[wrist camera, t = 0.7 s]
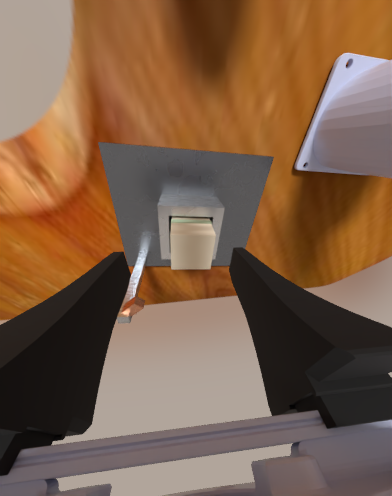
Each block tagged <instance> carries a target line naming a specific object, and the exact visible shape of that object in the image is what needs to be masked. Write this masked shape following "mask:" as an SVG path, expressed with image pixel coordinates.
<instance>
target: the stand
mask: <svg viewBox="0 0 392 496" xmlns="http://www.w3.org/2000/svg"><path fill="white" fill-rule="evenodd" d="M98 144H99V148H100V152H101V156H102V160H103V164H104V168H105V172H106V176H107V181H108V185H109V189H110V193H111V197H112V201H113V205H114V209H115V213H116V218H117V222H118V226H119V230H120V234H121V238H122V242H123V246H124V250H125V255H126V259H127V263H128V266H135V267H134V270H133V273H132V275H131V278H130V282H129V286H128V290H127V292H126V295H125V298H124V300H123V303H122V306H121V308H120V311H119V314H118V316H117V320H118V323H130V322H131V318H132V316H133V315H134V314H136V313H137V312H139V311H140V310H142V309H143V307H144V303H145V300H143V299H141V298H139V297H137V296H138V293H139V289H140V285H141V282H142V278H143V275H144V271H145V267H146V266H171V243H170V233H171V219H172V216H194V217H209V219H210V220H211V222H212V227H213V229H214V232H215V234H216V239H215V245H214V251H213V256H212V262H211V266H230V262H231V257H232V252H233V248H235V247H243V248H244V249H245V247H246V244H247V241H248V237H249V234H250V231H251V228H252V225H253V222H254V218H255V215H256V212H257V209H258V206H259V202H260V199H261V196H262V193H263V190H264V187H265V183H266V180H267V177H268V174H269V171H270V167H271V164H272V161H273V158H274V157H271V156H260V155H248V154H236V153H224V152H212V151H200V150H189V149H177V148H165V147H153V146H141V145H129V144H117V143H105V142H98Z"/></svg>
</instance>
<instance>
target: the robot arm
mask: <svg viewBox="0 0 392 496" xmlns="http://www.w3.org/2000/svg"><path fill="white" fill-rule="evenodd" d="M347 61H348V63H349V64H348V67H347V68H346V63H347ZM305 163H306V165H305V166H304V167H303V165H304V164H305ZM294 167H295V169H296V170H303V171H316V172H330V173H343V174H357V175H374V176H380V177H386V178H392V60H384V59H379V58H373V57H368V56H362V55H357V54H351V53H344V54H343V55H341V56H339V57H338V58H337V60H336V61H335V63H334V66H333V68H332V71H331V73H330V76H329V79H328V81H327V84H326V86H325V89H324V91H323V94H322V96H321V99H320V101H319V104H318V107H317V109H316V112H315V114H314V117H313V119H312V122H311V124H310V127H309V130H308V132H307V135H306V137H305V140H304V142H303V145H302V147H301V150H300V153H299V155H298V158H297V160H296V163H295V166H294ZM229 272H230V276H231V280H232V283H233V286H234V288H235V291H236V293H237V296H238V298H239V300H240V302H241V305H242V308H243V310H244V312H245V315H246V318H247V322H248V325H249V328H250V332H251V335H252V338H253V342H254V346H255V350H256V353H257V357H258V361H259V365H260V369H261V373H262V378H263V382H264V387H265V391H266V396H267V400H268V405H269V408H270V411H271V414H272V416H270V417H263V418H255V419H248V420H240V421H232V422H226V423H217V424H209V425H202V426H194V427H187V428H179V429H172V430H164V431H157V432H149V433H142V434H134V435H127V436H120V437H111V438H104V439H96V440H89V441H81V442H74V443H66V444H59V445H51V444H52V442H53V441H58V440H63V439H64V438H65V436H72V435H79V434H83V433H84V432H85V431H86V430H87V429H88V428H89V427H90V426H91V424H92V421H93V415H94V409H95V404H96V399H97V393H98V388H99V384H100V379H101V375H102V370H103V366H104V361H105V357H106V353H107V349H108V345H109V341H110V338H111V334H112V330H113V327H114V324H115V321H116V319H117V316H118V314H119V311H120V308H121V306H122V303H123V300H124V298H125V295H126V292H127V290H128V286H129V282H130V277H131V274H130V271H129V268H128V264H127V261H126V258H125V255H124V252H113V253H112V254H110V255H109V256H107V257H106V258H105V259H103V260H102V261H101V262H100V263H98V264H97V265H96V266H94V267H93V268H92V269H90V270H89V271H88V272H87V273H85V274H84V275H82V276H81V277H80V278H78V279H77V280H75V281H74V282H73V283H71V284H70V285H68V286H67V287H65V288H64V289H62V290H61V291H59V292H58V293H56V294H55V295H53V296H51V297H50V298H48V299H47V300H45V301H43V302H42V303H40V304H38V305H36V306H35V307H33V308H31V309H29V310H27V311H26V312H24V313H22V314H20V315H18V316H16V317H15V318H13V319H11V320H9V321H7V322H6V323H3V324H1V325H0V496H110V492H111V484H103V485H95V486H88V487H83V488H77V489H72V490H67V491H62V492H61V491H59V488H58V486H59V485H58V481H57V479H55V478H61V477H68V476H74V475H82V474H88V473H95V472H102V471H108V470H114V469H122V468H129V467H135V466H142V465H148V464H155V463H162V462H168V461H176V460H182V459H189V458H196V457H202V456H209V455H216V454H222V453H229V452H236V451H243V450H249V449H256V448H263V447H269V446H276V445H283V444H289V443H293V444H292V446H291V455H290V456H285V457H277V458H269V459H264V460H258V461H253V462H252V464H251V466H252V471H253V475H254V480H255V482H252V483H244V484H236V485H229V486H221V487H213V488H207V489H199V490H192V491H186V492H180V493H175V494H169V495H164V496H392V378H391V377H390V375H389V374H388V373H390V372H392V328H391V327H389V326H386V325H384V324H381V323H379V322H376V321H373V320H371V319H368V318H366V317H363V316H360V315H358V314H355V313H353V312H351V311H348V310H346V309H344V308H341V307H339V306H337V305H334V304H332V303H330V302H328V301H326V300H324V299H322V298H320V297H318V296H316V295H314V294H312V293H310V292H308V291H306V290H304V289H302V288H301V287H299V286H297V285H295V284H294V283H292V282H290V281H289V280H287V279H285V278H284V277H282V276H281V275H279V274H278V273H276V272H275V271H273V270H272V269H270V268H269V267H268V266H266V265H265V264H264V263H262V262H261V261H260V260H258V259H257V258H256V257H254V256H253V255H252V254H251V253H249V252H248V251H247V250H245V249H244V248H243V247H235V248H233V252H232V257H231V262H230V268H229Z"/></svg>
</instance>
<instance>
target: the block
mask: <svg viewBox="0 0 392 496" xmlns="http://www.w3.org/2000/svg"><path fill="white" fill-rule="evenodd" d="M215 239H216V234H215V232H214V229H213V227H212V222H211V220H210V219H209V217H194V216H172V219H171V233H170V243H171V269H210V268H211V262H212V256H213V251H214V245H215Z"/></svg>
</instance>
